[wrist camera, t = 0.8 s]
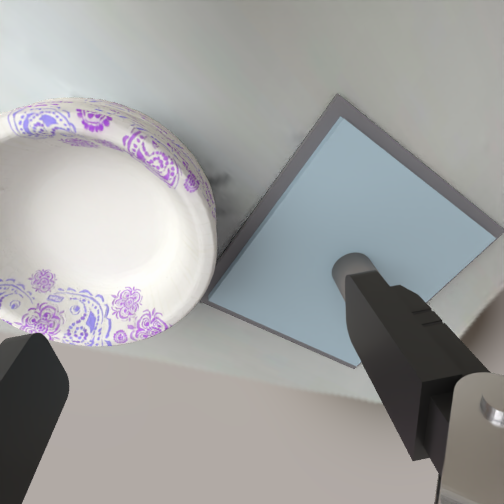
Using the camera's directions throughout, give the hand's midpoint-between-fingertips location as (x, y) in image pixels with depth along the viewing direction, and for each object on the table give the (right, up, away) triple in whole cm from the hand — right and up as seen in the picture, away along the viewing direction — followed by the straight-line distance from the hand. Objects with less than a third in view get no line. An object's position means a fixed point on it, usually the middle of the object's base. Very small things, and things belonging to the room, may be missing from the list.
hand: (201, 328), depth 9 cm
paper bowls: (-9, +6, +17) cm, 20 cm away
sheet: (+10, +1, +22) cm, 24 cm away
